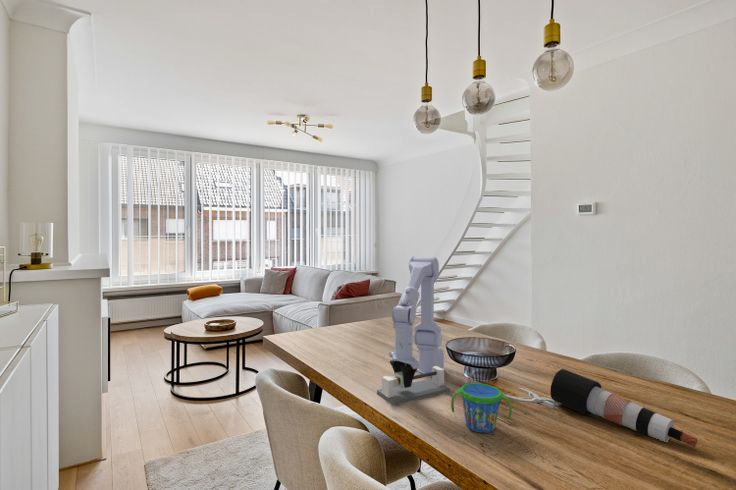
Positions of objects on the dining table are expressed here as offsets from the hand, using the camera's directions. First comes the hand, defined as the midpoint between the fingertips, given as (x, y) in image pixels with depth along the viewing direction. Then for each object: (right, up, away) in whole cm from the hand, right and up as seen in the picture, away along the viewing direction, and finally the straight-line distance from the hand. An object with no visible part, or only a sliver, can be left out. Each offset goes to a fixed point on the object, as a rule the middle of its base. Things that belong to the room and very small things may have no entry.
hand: (403, 384), depth 128 cm
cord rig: (+4, -3, +2) cm, 5 cm away
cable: (+57, -4, -20) cm, 60 cm away
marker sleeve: (0, 0, 0) cm, 0 cm away
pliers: (+40, -4, -3) cm, 41 cm away
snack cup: (+19, -4, -22) cm, 29 cm away
